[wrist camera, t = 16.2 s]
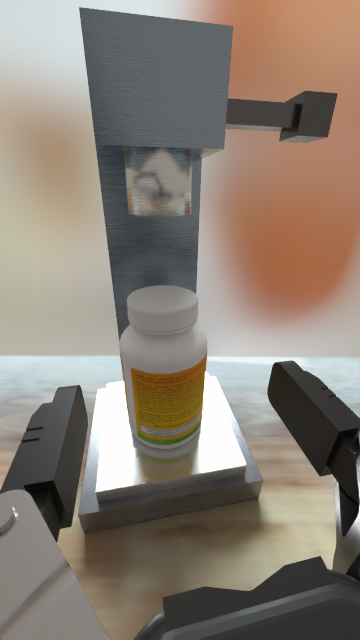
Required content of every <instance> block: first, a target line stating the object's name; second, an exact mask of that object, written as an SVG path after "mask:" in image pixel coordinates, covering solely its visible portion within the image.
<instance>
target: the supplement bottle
mask: <svg viewBox="0 0 360 640" xmlns="http://www.w3.org/2000/svg"><path fill="white" fill-rule="evenodd" d="M127 308H128V319H129V322H130V325H129V326H128V327H127V328H126V329H125V330H124V332H123V333H122V335H121V338H120V357H121V364H122V372H123V381H124V389H125V397H126V407H127V414H128V421H129V425H130V429H131V431H132V433H133V434H134V436H135V437H136V438H137V439H138V440H139V441H141V442H142V443H143V444H145V445H147V446H150V447H153V448H158V449H171V448H176V447H179V446H181V445H183V444H185V443H187V442H188V441H190V440H191V439H192V438H193V437H194V436H195V435H196V434H197V432H198V431H199V429H200V426H201V423H202V417H203V403H204V388H205V373H206V360H207V338H206V335H205V332H204V330H203V329H202V328H201V327H200V326H199V325H198V324H197V323H196V322H197V316H198V298H197V295H196V294H195V293H194V292H192V291H191V290H189V289H186V288H182V287H178V286H169V285H158V286H149V287H144V288H141V289H138V290H136V291H134V292H132V293H131V294H130V295H129V296H128V298H127Z"/></svg>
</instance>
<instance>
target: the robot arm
mask: <svg viewBox="0 0 360 640" xmlns="http://www.w3.org/2000/svg"><path fill="white" fill-rule="evenodd" d="M268 398H269V401H270V403H271V405H272V406H273V408H274V409H275V411H276V412H277V414H278V415H279V417H280V418H281V420H282V421H283V423H284V424H285V426H286V427H287V429H288V430H289V432H290V433H291V435H292V436H293V437H294V439H295V440H296V442H297V443H298V445H299V446H300V448H301V449H302V451H303V452H304V454H305V455H306V457H307V458H308V460H309V461H310V463H311V464H312V466H313V467H314V469H315V470H316V472H317V473H318V475H319V476H325V475H330V474H333V476H334V477H335V479H336V481H335V484H334V492H335V515H336V539H337V540H336V550H335V554H334V559H333V568H332V570H330V569H327V567H326V566H325V564H324V562H323V560H322V558H321V556H318V557H315V558H311V559H307V560H303V561H300V562H296V563H292V564H288V565H285V566H283V567H282V568H281V569H280V570H278V571H277V572H276V573H274V574H273V575H272V576H270V577H269V578H268V579H267V580H265V581H264V582H263V583H261V584H260V585H259V586H258V587H256V588H255V589H253V590H251V591H240V590H231V589H222V588H213V587H202V588H198V589H194V590H190V591H187V592H183V593H179V594H175V595H172V596H168V597H164V598H163V608H164V610H163V611H162V612H160V613H159V614H158V615H156V616H155V617H154V618H153V619H152V620H150V621H149V622H148V623H147V624H146V625H145V626H144V627H143V629H142V630H141V631H140V632H139V633H138V635H137V636H136V637H135V638H134V640H360V418H359V417H358V416H357V415H356V414H355V413H354V412H353V411H352V410H351V409H350V408H349V407H347V406H346V405H345V404H344V403H343V402H342V401H341V400H340V399H339V398H338V397H336V395H335V394H334V393H333V392H332V391H331V390H330V389H328V387H327V386H326V385H325V384H324V383H323V382H322V381H321V380H320V379H319V378H317V377H316V376H314V375H312V374H311V373H309V372H307V371H303V370H302V369H301V368H300V367H299V365H298V364H297V363H295V362H294V361H284V362H276V363H274V364H273V367H272V371H271V376H270V381H269V385H268ZM87 427H88V419H87V412H86V407H85V403H84V399H83V394H82V390H81V387H80V385H76V386H68V387H59V388H58V389H57V391H56V393H55V396H54V399H53V402H52V403H45V404H42V405H41V406H40V407H39V409H38V410H37V411H36V412H35V413H34V414H33V415H32V417H31V419H30V422H29V424H28V426H27V429H26V432H25V433H24V436H23V438H22V443H20V445H19V448H18V450H17V452H16V455H15V457H14V459H13V462H12V464H11V467H10V469H9V471H8V474H7V476H6V478H5V481H4V483H3V486H2V488H1V490H0V640H110V639H109V637H108V635H107V633H106V632H105V630H104V628H103V626H102V624H101V622H100V621H99V619H98V617H97V615H96V613H95V611H94V609H93V608H92V606H91V604H90V602H89V600H88V598H87V596H86V595H85V593H84V591H83V589H82V587H81V585H80V583H79V582H78V580H77V578H76V576H75V574H74V572H73V571H72V569H71V567H70V565H69V564H68V563H67V561H66V559H65V558H64V556H63V554H62V552H61V550H60V548H59V547H58V545H57V541H58V536H59V531H60V529H62V528H67V527H71V525H72V519H73V513H74V507H75V501H76V495H77V489H78V483H79V477H80V471H81V465H82V459H83V453H84V447H85V441H86V435H87Z"/></svg>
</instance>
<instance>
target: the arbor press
mask: <svg viewBox="0 0 360 640" xmlns="http://www.w3.org/2000/svg"><path fill="white" fill-rule="evenodd" d="M79 10H80V18H81V27H82V34H83V42H84V52H85V60H86V68H87V76H88V85H89V93H90V101H91V109H92V118H93V126H94V133H95V134H94V135H95V142H96V150H97V159H98V167H99V176H100V183H101V192H102V200H103V209H104V216H105V225H106V232H107V233H106V234H107V242H108V250H109V258H110V267H111V275H112V283H113V291H114V299H115V307H116V317H117V325H118V333H119V342H120V338H121V335H122V333H123V332H124V330H125V329H126V328H127V327H128V326H129V325H130V322H129V319H128V308H127V298H128V296H129V295H130V294H131V293H132V292H134V291H136V290H138V289H141V288H144V287H149V286H158V285H169V286H178V287H182V288H186V289H189V290H191V291H192V292H194V293H195V294H196V282H197V257H198V232H199V207H200V184H201V160H202V158H204V157H207V156H209V155H211V154H214V153H216V152H219V151H221V150H223V149H224V141H225V140H224V139H225V129H244V130H245V129H246V130H263V131H264V130H265V131H281V133H280V140H279V141H284V142H306V143H307V142H311V141H315V140H319V139H323V138H327V137H328V133H329V129H330V125H331V120H332V116H333V111H334V107H335V103H336V98H337V93H324V92H312V91H304V92H302V93H301V94H299V95H297V96H295V97H294V98H292V99H290V100H288V101H286V102H285V103H282V102H268V101H254V100H240V99H228V87H229V74H230V60H231V47H232V33H233V26H228V25H219V24H212V23H203V22H195V21H187V20H178V19H170V18H161V17H154V16H146V15H138V14H129V13H120V12H113V11H105V10H97V9H89V8H79ZM262 483H263V478H262V476H261V474H260V472H259V470H258V467H257V465H256V463H255V461H254V459H253V457H252V455H251V452H250V450H249V448H248V446H247V444H246V442H245V439H244V437H243V435H242V433H241V431H240V429H239V426H238V424H237V422H236V420H235V418H234V416H233V414H232V411H231V409H230V407H229V405H228V403H227V401H226V398H225V396H224V394H223V392H222V390H221V388H220V385H219V383H218V381H217V379H216V377H215V376H210V377H209V375H208V373H207V372H206V373H205V388H204V403H203V417H202V423H201V426H200V429H199V431H198V432H197V434H196V435H195V436H194V437H193V438H192V439H191V440H190V441H188V442H187V443H185V444H183V445H181V446H179V447H176V448H171V449H158V448H153V447H150V446H147V445H145V444H143V443H142V442H141V441H139V440H138V439H137V438H136V437H135V436H134V434H133V433H132V431H131V429H130V425H129V421H128V414H127V407H126V397H125V389H124V382H115V383H107V388H106V389H98V390H97V397H96V403H95V410H94V416H93V423H92V429H91V436H90V442H89V449H88V455H87V462H86V468H85V475H84V481H83V488H82V494H81V501H80V508H79V514H78V516H79V519H80V522H81V525H82V528H83V531H84V533H89V532H93V531H98V530H103V529H108V528H113V527H118V526H123V525H128V524H133V523H138V522H143V521H147V520H152V519H157V518H162V517H167V516H172V515H177V514H182V513H187V512H192V511H196V510H201V509H206V508H211V507H216V506H221V505H226V504H231V503H236V502H241V501H245V500H250V499H255V498H258V497H259V494H260V490H261V486H262Z"/></svg>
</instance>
